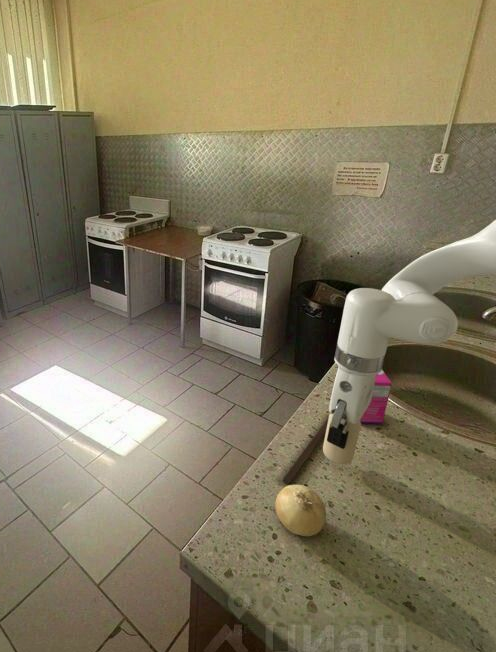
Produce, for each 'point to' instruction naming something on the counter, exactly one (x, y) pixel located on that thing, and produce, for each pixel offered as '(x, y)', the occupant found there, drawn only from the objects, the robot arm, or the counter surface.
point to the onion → (300, 510)
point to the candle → (348, 452)
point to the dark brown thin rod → (305, 454)
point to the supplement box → (378, 400)
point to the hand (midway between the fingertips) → (341, 434)
